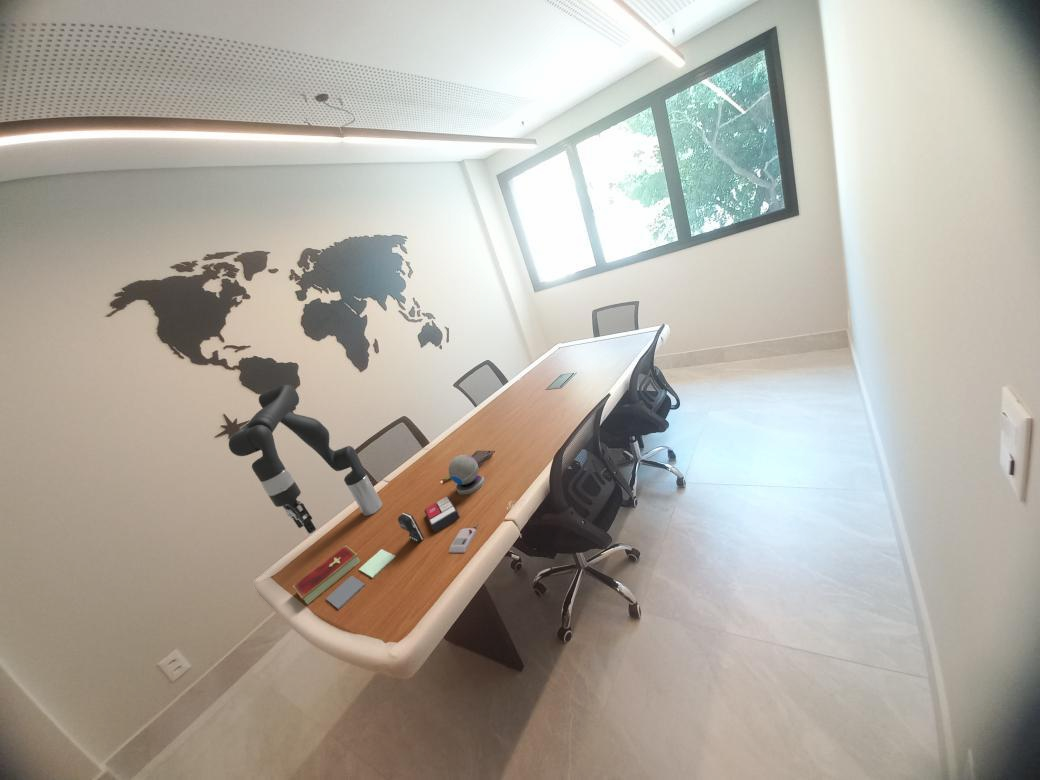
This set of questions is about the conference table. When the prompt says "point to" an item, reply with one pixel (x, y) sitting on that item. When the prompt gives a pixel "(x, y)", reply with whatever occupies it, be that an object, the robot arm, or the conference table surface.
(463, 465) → the webcam
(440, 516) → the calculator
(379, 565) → the green pad
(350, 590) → the charcoal pad
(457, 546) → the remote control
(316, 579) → the hardcover book
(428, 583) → the conference table surface
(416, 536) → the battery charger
